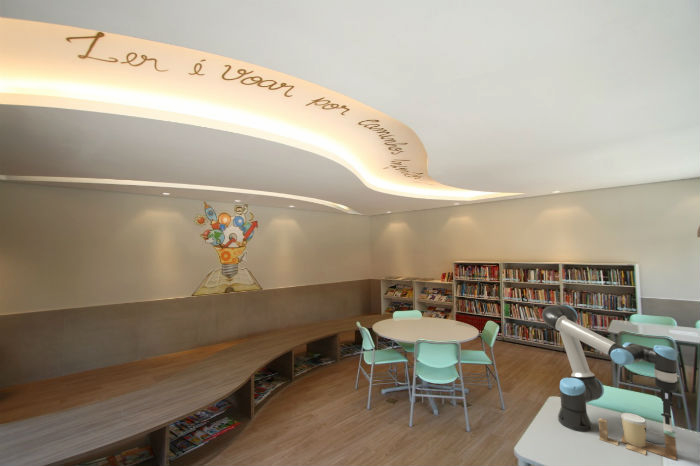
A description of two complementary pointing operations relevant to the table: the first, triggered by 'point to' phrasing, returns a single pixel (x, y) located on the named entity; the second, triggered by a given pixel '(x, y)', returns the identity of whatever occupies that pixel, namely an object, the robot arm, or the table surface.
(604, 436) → the broken strip
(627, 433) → the coffee cup
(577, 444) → the table surface
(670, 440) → the wooden l bracket
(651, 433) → the coaster
